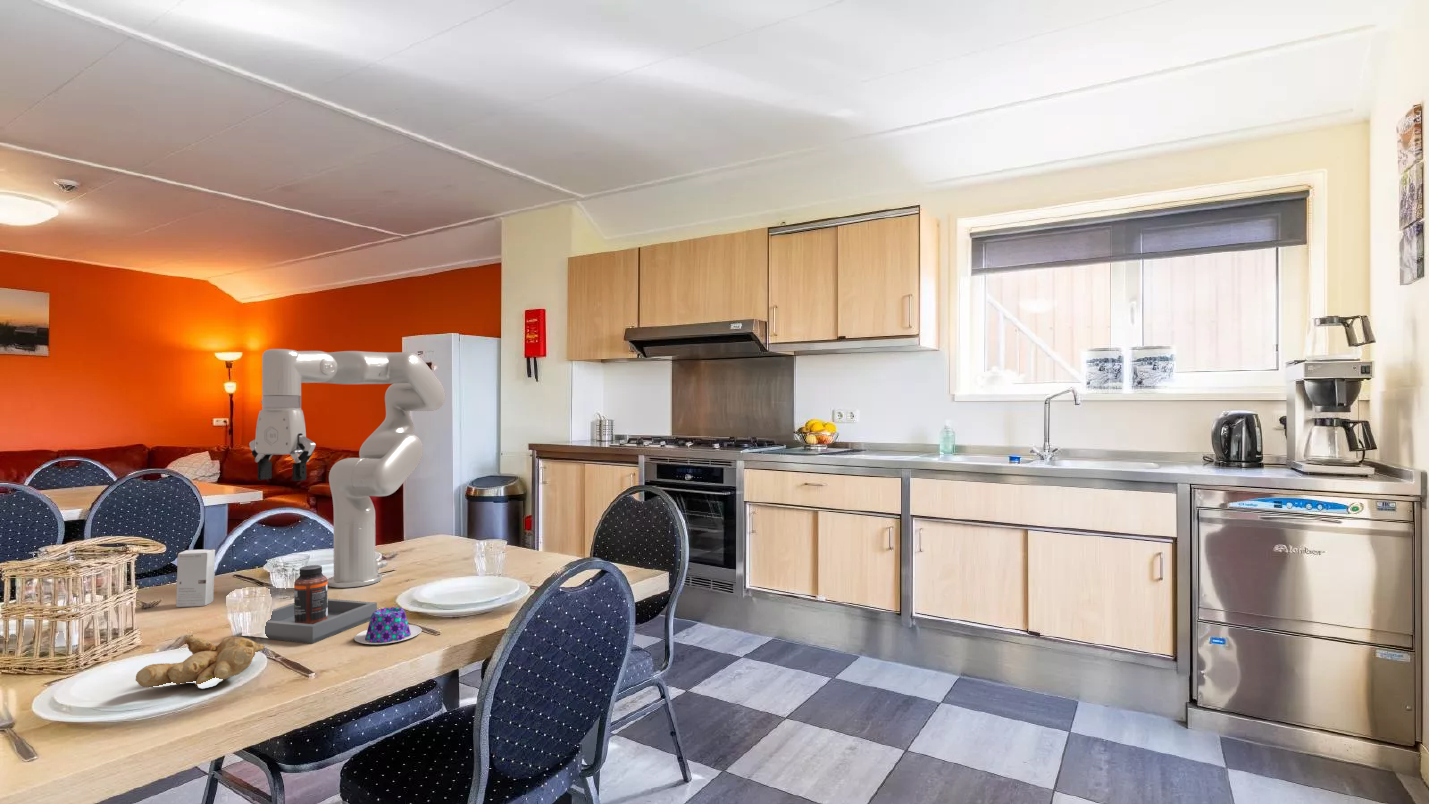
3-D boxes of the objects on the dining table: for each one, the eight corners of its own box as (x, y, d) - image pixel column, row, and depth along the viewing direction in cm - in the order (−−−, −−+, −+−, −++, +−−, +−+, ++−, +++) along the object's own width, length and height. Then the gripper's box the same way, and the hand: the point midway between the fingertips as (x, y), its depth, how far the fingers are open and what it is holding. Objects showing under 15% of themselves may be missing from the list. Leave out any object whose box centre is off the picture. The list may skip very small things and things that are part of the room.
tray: (311, 612, 156) (311, 597, 156) (376, 617, 152) (376, 602, 152) (241, 636, 140) (241, 619, 140) (312, 643, 135) (312, 626, 135)
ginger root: (291, 652, 127) (283, 611, 125) (234, 711, 111) (224, 665, 109) (203, 656, 127) (193, 615, 125) (133, 715, 111) (121, 670, 109)
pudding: (377, 652, 131) (377, 623, 131) (341, 640, 138) (341, 613, 138) (434, 634, 141) (434, 608, 141) (398, 624, 148) (398, 599, 148)
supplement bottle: (334, 618, 149) (334, 563, 149) (315, 627, 143) (315, 570, 143) (307, 617, 149) (307, 563, 149) (287, 626, 143) (287, 569, 143)
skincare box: (175, 608, 160) (175, 553, 160) (185, 602, 164) (185, 549, 164) (206, 606, 161) (206, 552, 161) (215, 600, 165) (215, 548, 165)
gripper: (236, 404, 160) (236, 480, 160) (299, 404, 156) (299, 482, 155) (265, 404, 167) (265, 477, 167) (326, 404, 163) (326, 479, 163)
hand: (281, 479), depth 161 cm, fingers open, 9 cm apart
